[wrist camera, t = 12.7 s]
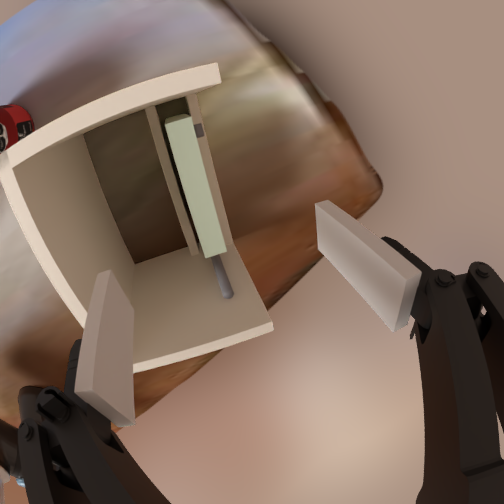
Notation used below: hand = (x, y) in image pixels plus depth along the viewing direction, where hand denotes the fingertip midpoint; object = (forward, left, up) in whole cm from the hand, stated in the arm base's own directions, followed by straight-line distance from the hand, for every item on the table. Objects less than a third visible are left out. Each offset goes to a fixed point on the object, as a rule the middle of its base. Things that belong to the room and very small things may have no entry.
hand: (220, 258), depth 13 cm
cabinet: (-1, +4, -20) cm, 20 cm away
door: (0, 0, -20) cm, 20 cm away
